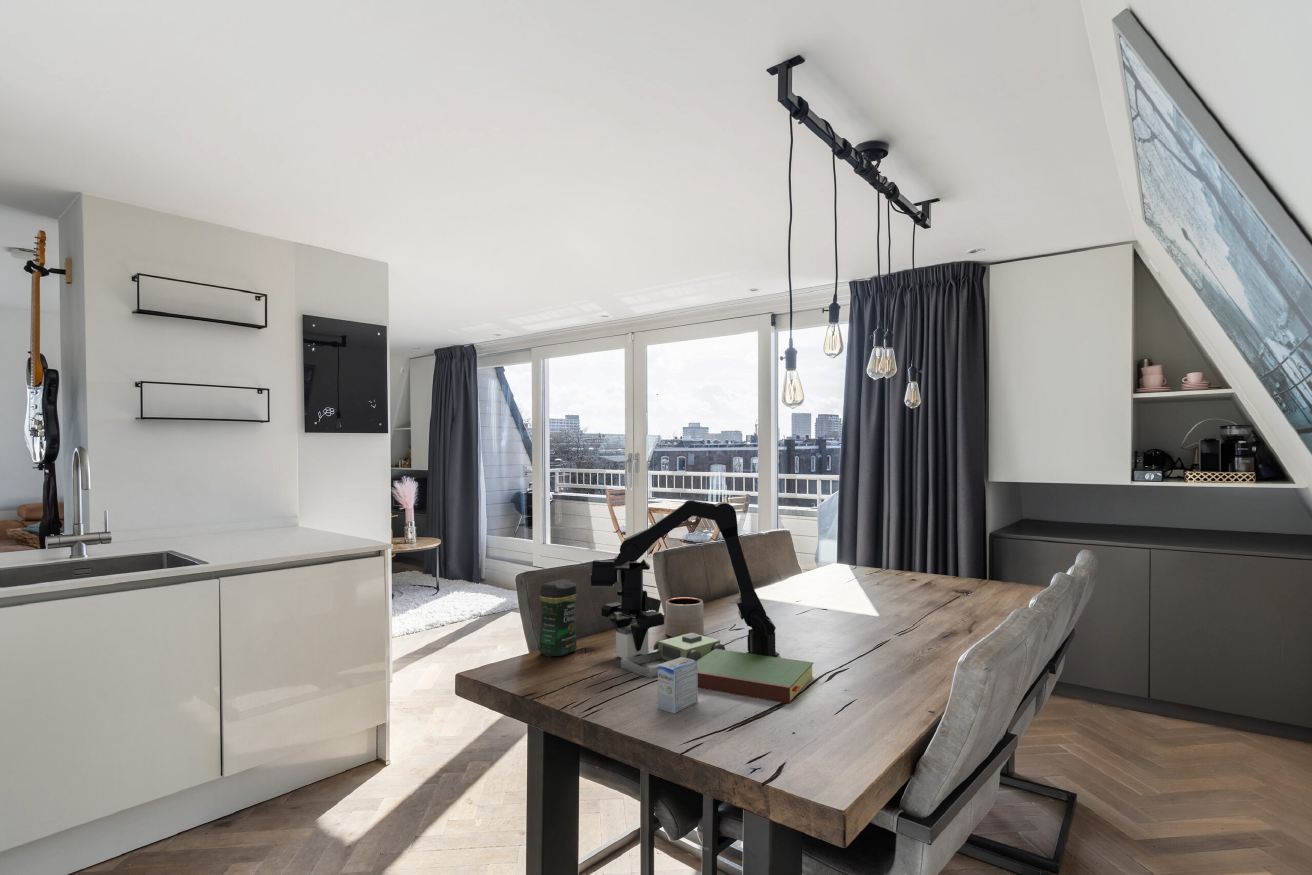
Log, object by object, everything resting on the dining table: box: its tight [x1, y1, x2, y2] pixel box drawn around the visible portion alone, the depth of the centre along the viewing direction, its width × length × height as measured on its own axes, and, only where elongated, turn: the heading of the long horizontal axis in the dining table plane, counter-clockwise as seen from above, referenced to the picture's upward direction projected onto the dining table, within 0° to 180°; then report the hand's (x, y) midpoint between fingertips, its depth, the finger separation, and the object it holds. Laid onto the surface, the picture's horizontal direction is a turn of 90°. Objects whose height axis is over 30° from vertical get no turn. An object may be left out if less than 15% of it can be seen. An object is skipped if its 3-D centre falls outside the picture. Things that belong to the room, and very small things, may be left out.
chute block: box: [615, 624, 649, 659], centre depth 168 cm, size 4×7×7 cm, turn 132°
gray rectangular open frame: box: [620, 649, 669, 679], centre depth 159 cm, size 10×12×2 cm
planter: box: [665, 596, 705, 638], centre depth 188 cm, size 11×11×10 cm
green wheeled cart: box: [653, 633, 726, 662], centre depth 167 cm, size 13×12×5 cm
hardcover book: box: [697, 649, 814, 704], centre depth 148 cm, size 25×19×4 cm
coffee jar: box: [538, 578, 577, 658], centre depth 172 cm, size 10×8×19 cm
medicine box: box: [657, 657, 699, 714], centre depth 134 cm, size 8×4×9 cm, turn 141°
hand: (632, 648), depth 168 cm, fingers closed on chute block, 4 cm apart
